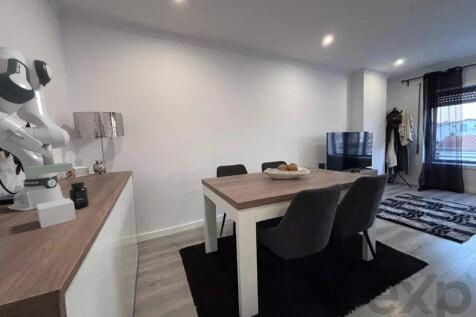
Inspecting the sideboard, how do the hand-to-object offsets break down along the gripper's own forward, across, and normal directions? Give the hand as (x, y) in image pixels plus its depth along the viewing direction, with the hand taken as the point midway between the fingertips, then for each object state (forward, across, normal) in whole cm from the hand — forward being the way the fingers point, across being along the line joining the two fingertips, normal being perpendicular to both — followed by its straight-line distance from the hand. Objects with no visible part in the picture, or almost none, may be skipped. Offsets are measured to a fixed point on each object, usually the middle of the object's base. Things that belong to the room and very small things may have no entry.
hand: (50, 156), depth 78 cm
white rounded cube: (+18, +2, +18) cm, 26 cm away
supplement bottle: (+25, +14, +12) cm, 31 cm away
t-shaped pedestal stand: (+4, 0, +5) cm, 6 cm away
